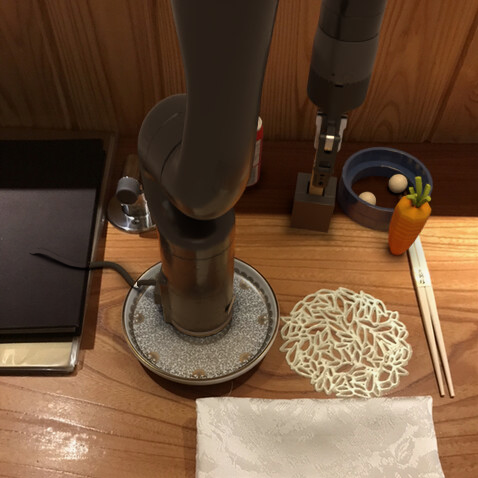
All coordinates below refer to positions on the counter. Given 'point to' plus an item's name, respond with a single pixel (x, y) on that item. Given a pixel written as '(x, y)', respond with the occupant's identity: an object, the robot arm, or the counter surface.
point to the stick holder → (313, 205)
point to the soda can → (257, 156)
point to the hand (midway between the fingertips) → (322, 164)
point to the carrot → (409, 218)
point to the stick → (313, 189)
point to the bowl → (377, 164)
